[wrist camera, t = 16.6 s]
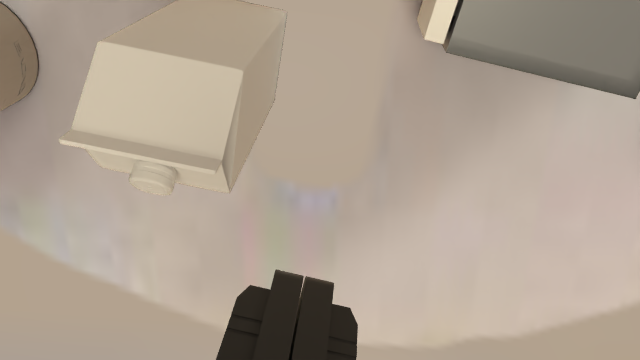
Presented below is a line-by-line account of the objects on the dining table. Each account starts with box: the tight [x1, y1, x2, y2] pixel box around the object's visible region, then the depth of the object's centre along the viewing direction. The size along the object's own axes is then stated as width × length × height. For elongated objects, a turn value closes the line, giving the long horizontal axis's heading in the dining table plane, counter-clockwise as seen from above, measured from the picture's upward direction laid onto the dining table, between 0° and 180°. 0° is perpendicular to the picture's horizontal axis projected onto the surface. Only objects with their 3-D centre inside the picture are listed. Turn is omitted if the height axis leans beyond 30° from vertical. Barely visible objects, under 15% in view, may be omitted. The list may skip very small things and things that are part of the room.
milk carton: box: [59, 0, 287, 195], centre depth 31 cm, size 7×7×19 cm
